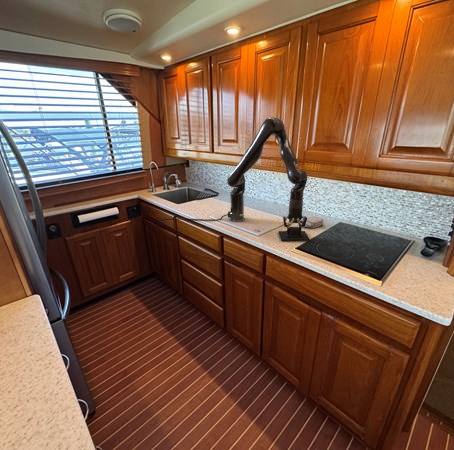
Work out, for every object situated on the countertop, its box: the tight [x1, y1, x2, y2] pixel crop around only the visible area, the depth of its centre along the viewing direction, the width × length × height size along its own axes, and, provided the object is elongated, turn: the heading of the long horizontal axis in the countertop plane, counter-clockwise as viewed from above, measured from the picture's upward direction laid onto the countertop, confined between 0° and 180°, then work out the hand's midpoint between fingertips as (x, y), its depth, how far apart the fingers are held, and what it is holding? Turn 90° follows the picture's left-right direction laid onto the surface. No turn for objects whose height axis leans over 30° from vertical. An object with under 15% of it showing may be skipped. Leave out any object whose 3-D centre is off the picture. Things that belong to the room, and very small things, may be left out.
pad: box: [289, 226, 300, 236], centre depth 140 cm, size 6×6×4 cm
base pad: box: [278, 230, 311, 242], centre depth 141 cm, size 16×12×2 cm
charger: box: [304, 215, 324, 229], centre depth 155 cm, size 5×9×15 cm
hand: (293, 233), depth 140 cm, fingers closed on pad, 5 cm apart
